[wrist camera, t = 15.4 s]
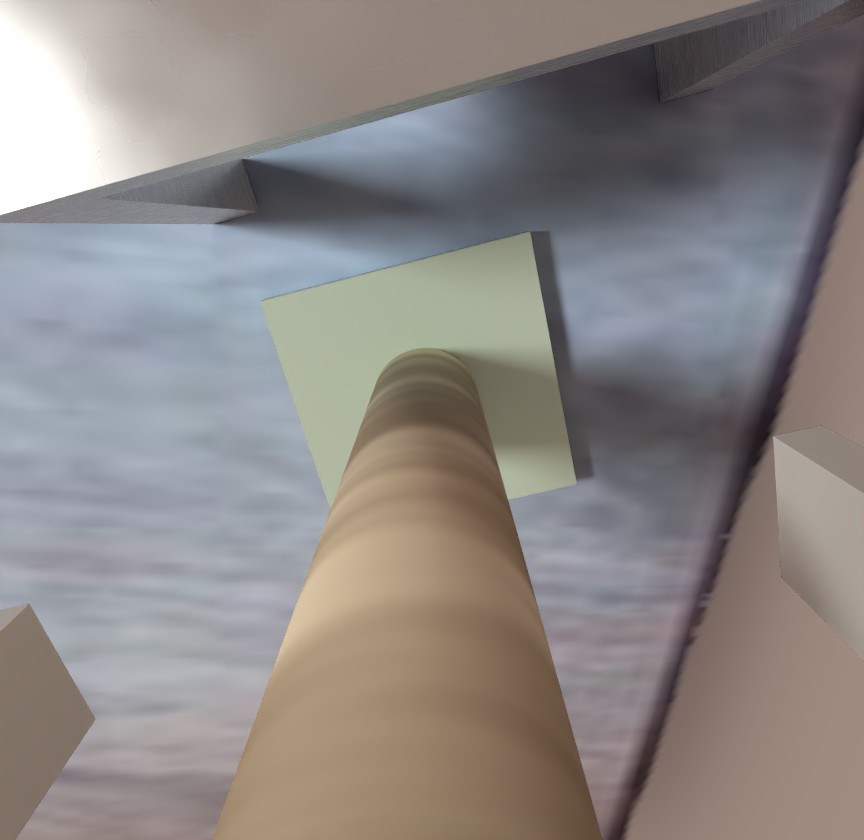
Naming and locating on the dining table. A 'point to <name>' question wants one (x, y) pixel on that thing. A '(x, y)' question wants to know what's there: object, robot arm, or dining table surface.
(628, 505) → the dining table surface
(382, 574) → the rod
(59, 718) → the robot arm
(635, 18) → the stand
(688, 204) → the dining table surface
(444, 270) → the pad
